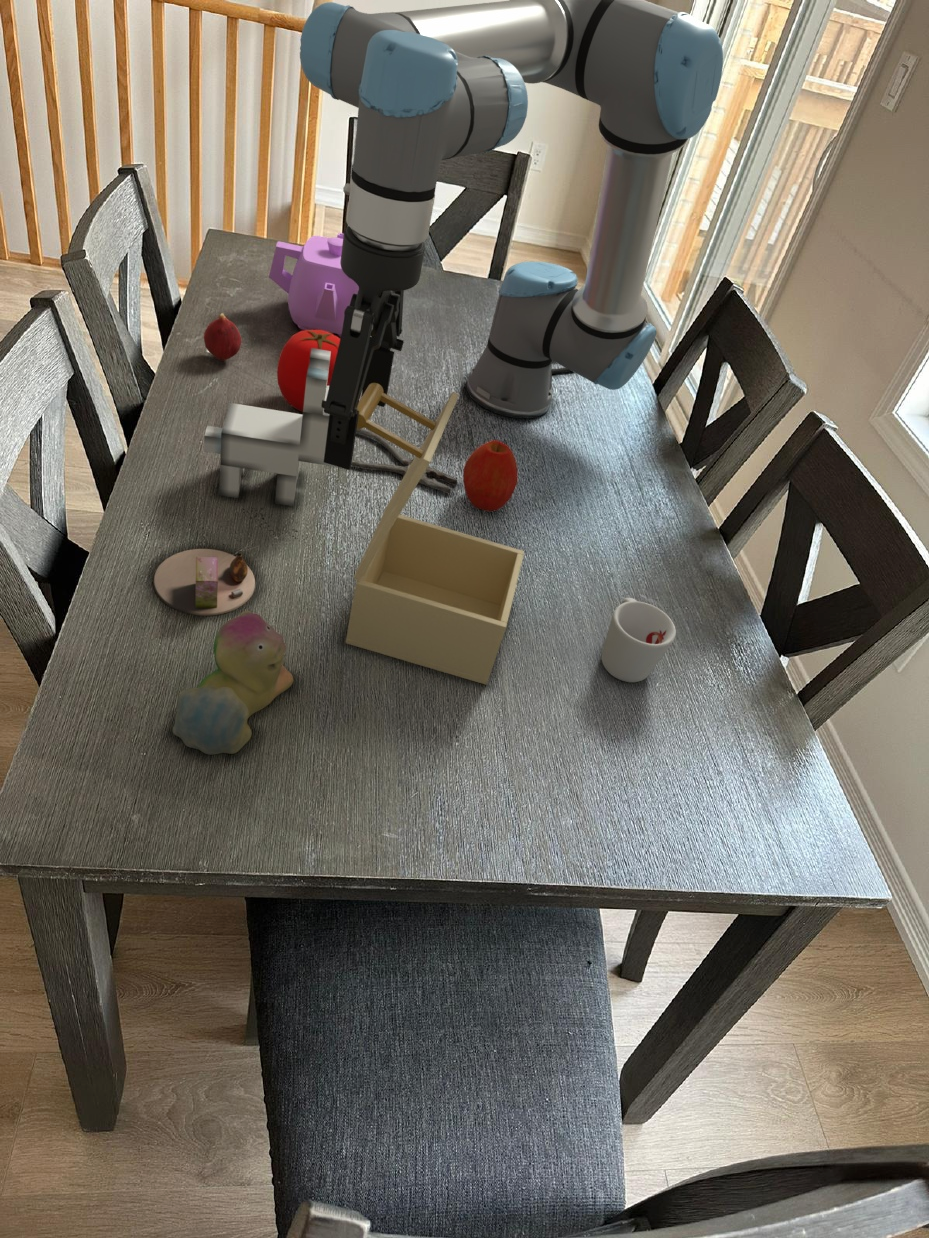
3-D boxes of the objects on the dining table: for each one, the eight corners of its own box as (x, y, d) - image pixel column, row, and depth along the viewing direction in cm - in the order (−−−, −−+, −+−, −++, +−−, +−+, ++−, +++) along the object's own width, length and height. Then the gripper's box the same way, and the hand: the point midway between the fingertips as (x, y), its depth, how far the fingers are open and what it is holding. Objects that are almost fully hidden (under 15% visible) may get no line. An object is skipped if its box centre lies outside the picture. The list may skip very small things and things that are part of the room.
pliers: (342, 422, 139) (465, 457, 139) (341, 426, 140) (464, 461, 140) (324, 453, 132) (453, 490, 132) (323, 458, 132) (452, 495, 132)
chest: (505, 607, 117) (524, 551, 110) (486, 685, 106) (506, 627, 100) (377, 569, 117) (389, 510, 110) (345, 643, 106) (355, 582, 100)
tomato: (300, 433, 136) (308, 358, 128) (259, 395, 141) (264, 320, 133) (365, 416, 143) (376, 345, 135) (324, 381, 149) (332, 310, 140)
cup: (584, 626, 118) (603, 582, 112) (640, 632, 119) (662, 588, 114) (600, 687, 110) (621, 643, 105) (660, 692, 112) (684, 649, 106)
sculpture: (240, 772, 90) (244, 708, 83) (163, 743, 91) (161, 678, 84) (298, 675, 101) (306, 612, 94) (229, 651, 101) (232, 586, 95)
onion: (247, 360, 148) (249, 315, 143) (226, 373, 144) (227, 327, 138) (218, 347, 149) (219, 302, 144) (196, 359, 145) (196, 313, 140)
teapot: (321, 355, 154) (331, 271, 144) (255, 309, 161) (260, 225, 151) (399, 334, 167) (413, 255, 156) (335, 292, 174) (344, 213, 164)
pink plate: (257, 615, 106) (259, 588, 103) (151, 615, 103) (150, 586, 100) (253, 550, 115) (254, 523, 112) (154, 548, 111) (153, 519, 108)
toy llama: (209, 461, 126) (212, 330, 113) (333, 480, 129) (350, 354, 116) (200, 492, 121) (202, 359, 107) (329, 511, 124) (347, 383, 110)
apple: (447, 488, 134) (462, 427, 127) (496, 484, 137) (513, 425, 130) (469, 522, 129) (485, 460, 122) (518, 517, 132) (537, 457, 125)
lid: (459, 394, 98) (386, 352, 97) (430, 462, 88) (347, 416, 86) (392, 509, 110) (326, 473, 109) (359, 581, 99) (285, 542, 98)
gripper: (381, 183, 90) (355, 371, 105) (301, 270, 72) (282, 483, 86) (452, 204, 90) (416, 389, 105) (390, 296, 72) (357, 505, 86)
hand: (356, 432), depth 95 cm, fingers open, 13 cm apart
